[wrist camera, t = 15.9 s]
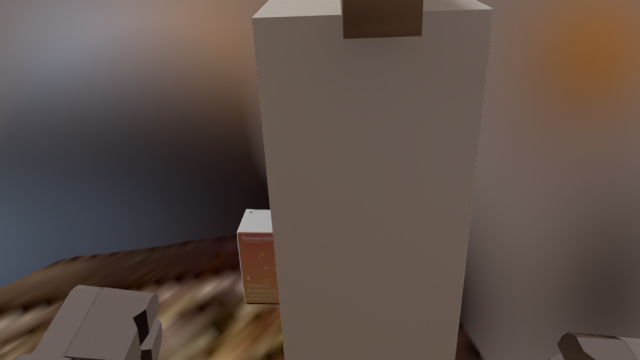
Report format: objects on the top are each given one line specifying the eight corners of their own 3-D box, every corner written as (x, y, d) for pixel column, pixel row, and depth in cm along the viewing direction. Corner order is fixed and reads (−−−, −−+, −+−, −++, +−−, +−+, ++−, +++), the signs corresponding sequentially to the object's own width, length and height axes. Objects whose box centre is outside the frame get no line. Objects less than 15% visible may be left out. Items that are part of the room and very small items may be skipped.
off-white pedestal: (441, 480, 41) (493, 8, 25) (296, 479, 42) (251, 17, 25) (411, 325, 57) (431, -22, 41) (307, 326, 58) (284, -16, 41)
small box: (244, 304, 62) (234, 232, 57) (253, 276, 67) (244, 207, 62) (308, 305, 61) (304, 232, 56) (312, 277, 66) (308, 208, 61)
